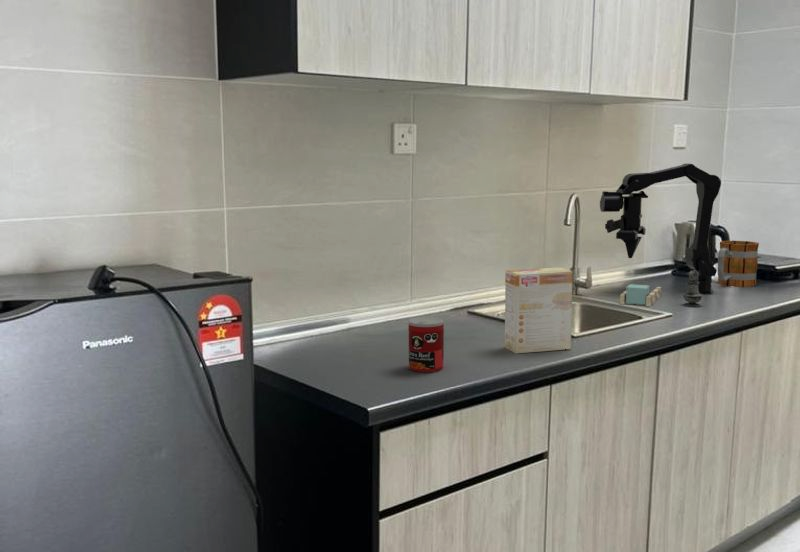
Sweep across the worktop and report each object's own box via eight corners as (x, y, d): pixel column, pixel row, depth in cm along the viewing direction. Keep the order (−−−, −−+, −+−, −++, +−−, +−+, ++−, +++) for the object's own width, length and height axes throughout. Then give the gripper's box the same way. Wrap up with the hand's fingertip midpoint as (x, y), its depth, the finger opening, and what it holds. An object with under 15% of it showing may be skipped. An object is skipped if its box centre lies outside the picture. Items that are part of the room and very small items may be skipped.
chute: (632, 293, 265) (632, 285, 264) (660, 296, 261) (661, 287, 260) (619, 304, 247) (620, 294, 247) (650, 306, 243) (650, 297, 243)
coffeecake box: (558, 343, 199) (560, 266, 196) (571, 349, 192) (574, 270, 189) (503, 347, 195) (504, 269, 192) (514, 354, 188) (516, 273, 185)
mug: (728, 279, 292) (731, 239, 290) (764, 284, 282) (767, 242, 280) (700, 285, 280) (702, 243, 278) (736, 290, 270) (739, 247, 267)
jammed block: (629, 299, 253) (630, 284, 252) (648, 301, 250) (649, 285, 249) (625, 302, 248) (626, 287, 247) (645, 304, 245) (646, 288, 244)
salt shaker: (699, 303, 247) (701, 266, 245) (704, 307, 241) (706, 269, 240) (680, 303, 248) (681, 266, 246) (684, 307, 242) (686, 268, 240)
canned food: (402, 369, 175) (401, 321, 174) (421, 361, 182) (421, 315, 180) (431, 375, 171) (431, 325, 169) (449, 366, 178) (450, 319, 176)
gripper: (613, 209, 274) (612, 253, 276) (601, 213, 258) (599, 260, 260) (646, 209, 269) (644, 255, 271) (636, 214, 253) (634, 262, 255)
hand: (630, 258), depth 265 cm, fingers closed
